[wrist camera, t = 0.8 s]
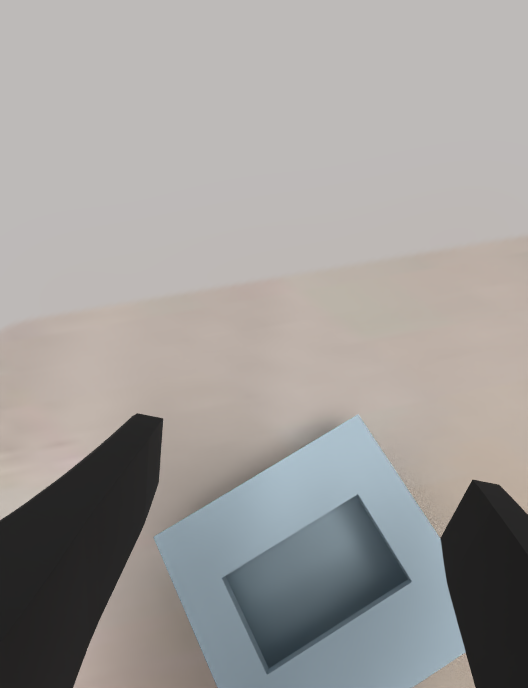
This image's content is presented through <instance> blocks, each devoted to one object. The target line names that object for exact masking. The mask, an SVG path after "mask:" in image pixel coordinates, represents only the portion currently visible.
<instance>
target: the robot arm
mask: <svg viewBox="0 0 528 688" xmlns="http://www.w3.org/2000/svg"><path fill="white" fill-rule="evenodd" d="M162 428H163V418H158V417H153V416H148V415H143V414H138V413H137V414H136V415H134V416H132V417H131V418H130V419H129V420H128V421H127V422H126V423H125V424H123V425H122V426H121V427H120V428H119V429H118V430H117V431H116V432H115V433H113V434H112V435H111V436H110V437H109V438H108V439H107V440H105V441H104V442H103V443H102V444H101V445H100V446H99V447H97V448H96V449H95V450H94V451H93V452H91V453H90V454H89V455H88V456H87V457H85V458H84V459H83V460H82V461H80V462H79V463H78V464H77V465H75V466H74V467H73V468H72V469H71V470H69V471H68V472H67V473H66V474H64V475H63V476H62V477H60V478H59V479H58V480H56V481H55V482H54V483H52V484H51V485H50V486H48V487H47V488H46V489H44V490H43V491H42V492H40V493H39V494H37V495H36V496H35V497H33V498H32V499H31V500H29V501H28V502H27V503H25V504H24V505H22V506H21V507H19V508H18V509H16V510H15V511H14V512H12V513H11V514H9V515H8V516H6V517H5V518H3V519H2V520H0V688H73V686H74V683H75V681H76V678H77V675H78V672H79V670H80V667H81V664H82V662H83V659H84V656H85V654H86V651H87V648H88V646H89V643H90V641H91V638H92V636H93V634H94V631H95V629H96V627H97V624H98V622H99V620H100V618H101V615H102V613H103V611H104V609H105V607H106V605H107V603H108V601H109V598H110V596H111V594H112V592H113V590H114V588H115V586H116V584H117V581H118V579H119V577H120V575H121V573H122V571H123V569H124V567H125V564H126V562H127V560H128V558H129V556H130V554H131V552H132V550H133V547H134V545H135V543H136V541H137V539H138V537H139V535H140V532H141V530H142V528H143V526H144V524H145V521H146V518H147V515H148V512H149V509H150V507H151V504H152V501H153V498H154V495H155V492H156V489H157V486H158V483H159V470H160V456H161V442H162ZM441 546H442V554H443V561H444V568H445V574H446V580H447V585H448V589H449V593H450V597H451V601H452V604H453V608H454V612H455V615H456V619H457V623H458V626H459V630H460V633H461V637H462V640H463V644H464V648H465V651H466V655H467V658H468V662H469V665H470V669H471V673H472V676H473V680H474V683H475V687H476V688H528V515H527V514H526V513H525V511H524V510H523V509H522V508H521V507H520V506H519V505H518V504H517V503H516V502H515V501H514V500H513V499H512V497H511V496H510V495H509V494H508V493H507V492H506V491H505V490H504V489H503V488H502V487H501V486H500V485H497V484H492V483H487V482H482V481H477V480H472V482H471V483H470V485H469V487H468V489H467V491H466V493H465V494H464V496H463V498H462V500H461V502H460V504H459V505H458V507H457V509H456V511H455V513H454V515H453V516H452V518H451V520H450V522H449V524H448V525H447V527H446V529H445V531H444V533H443V535H442V536H441Z"/></svg>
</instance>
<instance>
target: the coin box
mask: <svg viewBox="0 0 528 688" xmlns="http://www.w3.org/2000/svg"><path fill="white" fill-rule="evenodd" d="M154 540H155V542H156V544H157V547H158V549H159V551H160V554H161V556H162V558H163V561H164V563H165V565H166V568H167V570H168V572H169V575H170V577H171V580H172V582H173V584H174V587H175V589H176V591H177V594H178V596H179V598H180V601H181V603H182V605H183V608H184V610H185V612H186V615H187V617H188V620H189V622H190V624H191V627H192V629H193V631H194V634H195V636H196V638H197V641H198V643H199V645H200V648H201V650H202V652H203V655H204V657H205V659H206V662H207V664H208V667H209V669H210V671H211V674H212V676H213V678H214V681H215V683H216V685H217V688H412V687H414V686H415V685H417V684H418V683H420V682H421V681H423V680H424V679H426V678H427V677H429V676H430V675H432V674H433V673H435V672H436V671H438V670H439V669H441V668H442V667H444V666H445V665H447V664H448V663H450V662H451V661H453V660H454V659H456V658H457V657H459V656H460V655H462V654H463V653H465V652H466V651H465V648H464V644H463V640H462V637H461V633H460V630H459V626H458V623H457V619H456V615H455V612H454V608H453V604H452V601H451V597H450V593H449V589H448V585H447V580H446V574H445V568H444V561H443V554H442V546H441V539H440V537H439V536H438V534H437V533H436V531H435V530H434V528H433V527H432V525H431V524H430V522H429V521H428V519H427V518H426V516H425V515H424V513H423V512H422V510H421V509H420V507H419V506H418V504H417V503H416V501H415V500H414V498H413V497H412V495H411V494H410V492H409V491H408V489H407V487H406V486H405V484H404V483H403V481H402V480H401V478H400V477H399V475H398V474H397V472H396V471H395V469H394V468H393V466H392V465H391V463H390V462H389V460H388V459H387V457H386V456H385V454H384V453H383V451H382V450H381V448H380V447H379V445H378V444H377V442H376V441H375V439H374V438H373V436H372V434H371V433H370V431H369V430H368V428H367V427H366V425H365V424H364V422H363V421H362V419H361V418H360V416H359V415H356V416H354V417H353V418H351V419H349V420H348V421H346V422H344V423H343V424H341V425H339V426H338V427H336V428H334V429H333V430H331V431H329V432H328V433H326V434H324V435H323V436H321V437H319V438H318V439H316V440H314V441H313V442H311V443H309V444H308V445H306V446H304V447H303V448H301V449H299V450H298V451H296V452H294V453H293V454H291V455H289V456H288V457H286V458H284V459H283V460H281V461H279V462H278V463H276V464H274V465H273V466H271V467H269V468H268V469H266V470H264V471H263V472H261V473H259V474H258V475H256V476H254V477H253V478H251V479H249V480H248V481H246V482H244V483H243V484H241V485H239V486H238V487H236V488H234V489H233V490H231V491H229V492H228V493H226V494H224V495H223V496H221V497H219V498H218V499H216V500H214V501H213V502H211V503H209V504H208V505H206V506H204V507H203V508H201V509H199V510H198V511H196V512H194V513H193V514H191V515H189V516H188V517H186V518H184V519H183V520H181V521H179V522H178V523H176V524H174V525H173V526H171V527H169V528H168V529H166V530H164V531H163V532H161V533H159V534H158V535H156V536H154Z"/></svg>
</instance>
